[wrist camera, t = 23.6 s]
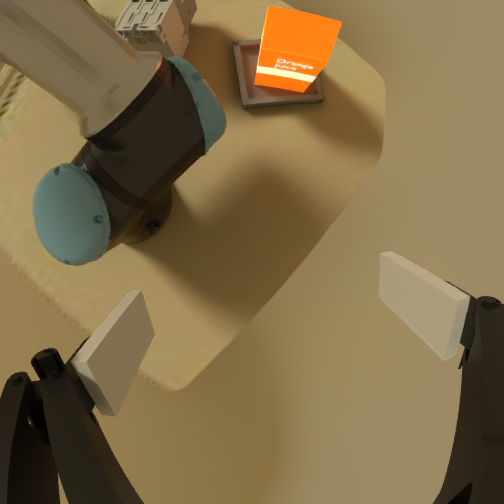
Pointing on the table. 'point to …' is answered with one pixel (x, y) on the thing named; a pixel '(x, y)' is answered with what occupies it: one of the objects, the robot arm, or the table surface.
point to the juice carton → (294, 48)
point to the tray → (266, 95)
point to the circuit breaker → (157, 25)
